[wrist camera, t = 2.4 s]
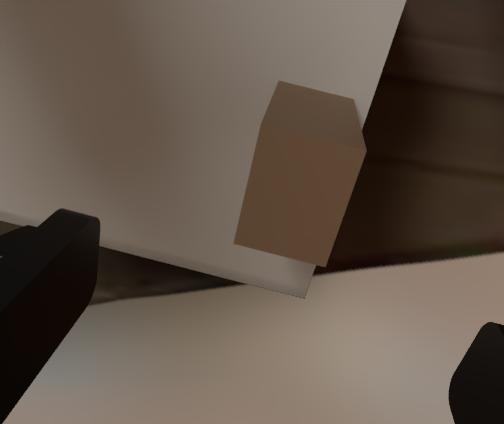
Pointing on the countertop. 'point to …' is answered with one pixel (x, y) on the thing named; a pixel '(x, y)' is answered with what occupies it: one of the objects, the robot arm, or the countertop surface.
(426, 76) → the countertop surface
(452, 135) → the countertop surface
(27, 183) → the lid
